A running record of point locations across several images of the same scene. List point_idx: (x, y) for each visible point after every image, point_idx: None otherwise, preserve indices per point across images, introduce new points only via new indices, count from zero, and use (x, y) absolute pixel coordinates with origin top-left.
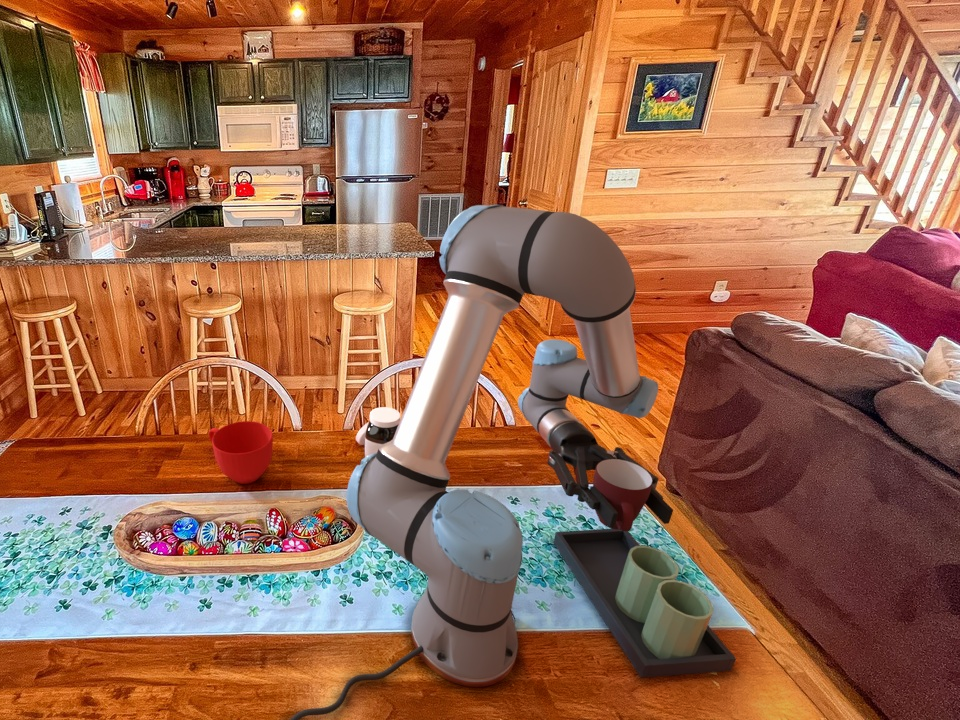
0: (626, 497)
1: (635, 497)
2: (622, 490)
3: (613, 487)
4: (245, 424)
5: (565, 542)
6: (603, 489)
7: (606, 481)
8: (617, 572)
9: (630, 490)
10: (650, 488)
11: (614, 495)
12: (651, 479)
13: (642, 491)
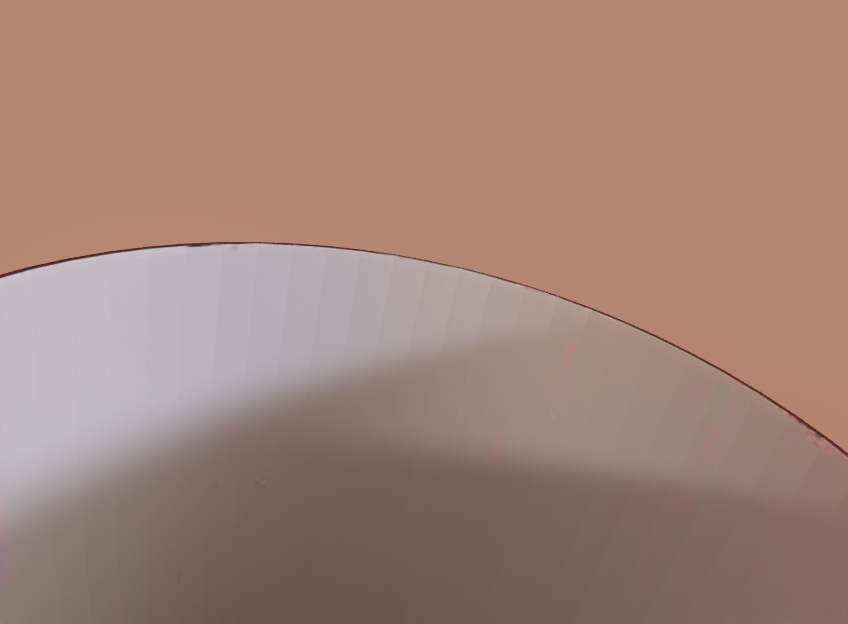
0: (517, 402)
1: (421, 363)
2: (598, 349)
3: (705, 401)
4: None
5: None
6: (767, 591)
7: (825, 441)
8: None
9: (518, 296)
10: (181, 293)
11: (633, 482)
12: (3, 294)
13: (357, 280)
